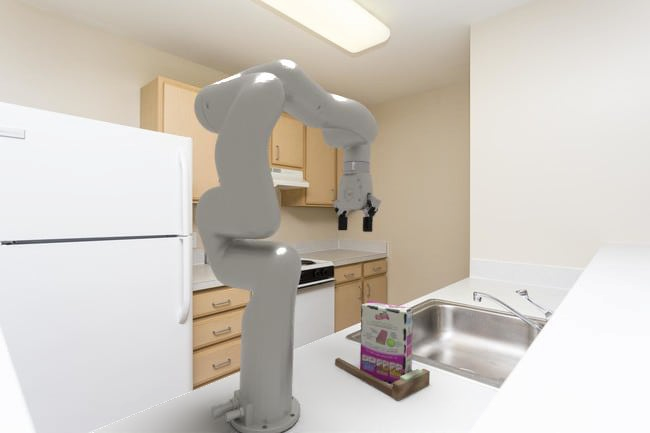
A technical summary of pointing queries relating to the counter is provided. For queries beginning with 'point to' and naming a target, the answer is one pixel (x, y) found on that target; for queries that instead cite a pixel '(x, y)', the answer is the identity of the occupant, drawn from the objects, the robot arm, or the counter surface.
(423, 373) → the wooden box holder
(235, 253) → the robot arm
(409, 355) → the candy bar box
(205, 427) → the counter surface
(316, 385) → the counter surface
